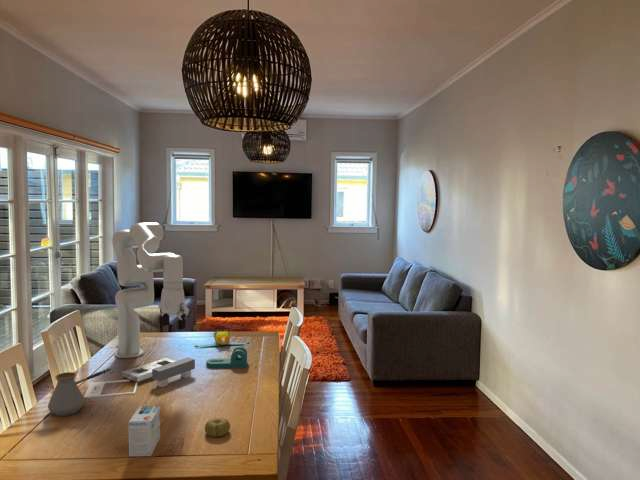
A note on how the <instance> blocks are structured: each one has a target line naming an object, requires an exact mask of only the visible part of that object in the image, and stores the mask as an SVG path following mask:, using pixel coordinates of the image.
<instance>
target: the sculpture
mask: <svg viewBox="0 0 640 480" xmlns="http://www.w3.org/2000/svg"><path fill="white" fill-rule="evenodd" d="M230 429H231V424H230V422H229V420H228V419H226V418H224V417H214V418H211V419H209V420H208V421H207V422H206V423H205V424H204V432H205V434H206V435H208V436H210V437H213V438H216V437H222V436H225V435H226V434H228V433H229V431H230Z"/></svg>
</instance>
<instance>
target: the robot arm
mask: <svg viewBox="0 0 640 480" xmlns="http://www.w3.org/2000/svg"><path fill="white" fill-rule="evenodd" d="M163 238H164V228H163V226H162V225H161V224H160V223H158V222H137V223H134V224H132V225H131V226H130V228H128V229H120V230H116V231H115V232H114V233H113V235H112V238H111V241H112V242H111V243H112V248H113V250H114V253H115V256H116V258H115V259H116V269H117V272H116V273H117V274H116V275H117V282H118V284H119V285H120V286H122V287H129V286H139V285H141V287H133V288H124V289H121V290H118V291H117V292H116V294H115V296H114V297H115V298H114V301H115V305H116V306H115V307H116V311H117V312H116V313H117V335H118V336H117V337H118V343H117V344H115V348H116V349H117V351H116V352H115V353H114V355H115V357H116V358H118V359H133V358H138V357H140V356H142V355H143V354H144V350H143V349H142V348H141V331H140V329H141V328H140V324H141V323H140V321H141V320H140V316H139V314H138V313H137V312H136V311H135V309H138V308H139V309H140V308H146V307H150V306H152V305H153V303H154V301H155V287H154V285H155V284H154V273H160V272H163V279H162V281H163V288H162V291H161V293H160V294H161V296H160V303H159V304H158V309H159V313H160V316H161V325H162V327H165V326H166V327H167V326H169V325H170V316H171V315H172V316H177V317H178V321H177V326H178V328H177V329H178V330H179V331H181V330H184V329H186V319H187V318H188V316H189V312H190V309H189V308H188V307H187V306H186V299H185V298H186V297H185V291H184V284H183V283H184V277H183V275H184V274H183V273H184V272H183V271H184V270H183V265H184V264H183V262H184V260H183V256H181V255H179V254H175V253H173V252H160V253H159V252H158V253H155V252H156V251H157V250H158V249H159V248H160V244H161V243H160V241H161V240H162V239H163ZM132 248H138V249H137V252H136V253H135V252H134V251H133V250H132ZM137 262H138V264H137Z"/></svg>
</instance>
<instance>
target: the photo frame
mask: <svg viewBox="0 0 640 480" xmlns="http://www.w3.org/2000/svg"><path fill="white" fill-rule="evenodd" d="M124 382H125V383H126V382H130V381H129V380H124V379H122V380H121V379H120V380H108V381H96V382H90V384H89V386H88V387H87V390H86V391H85V394H84V395H83V397H84V399H90V398H102V397H113V396H122V395H123V396H124V395H136V392H137V389H138V385H139V384H138V383H134V388H133V391H129V392H120V393H119V392H117V393H108V394H107V393H106V394H102V392H103V389H104V388H105V385H106V384H112V383H114V384H115V383H124Z"/></svg>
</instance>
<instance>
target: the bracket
mask: <svg viewBox="0 0 640 480" xmlns="http://www.w3.org/2000/svg"><path fill="white" fill-rule="evenodd" d="M247 365H248V351H247V349H246V348H245V347H244V346H242V345H240V346H236V347H234V349H232V353H231V355H230V357H229V358H210V359H207V360H206V361H205V367H206V368H208V369H239V368H240V369H244V368H247Z"/></svg>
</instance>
